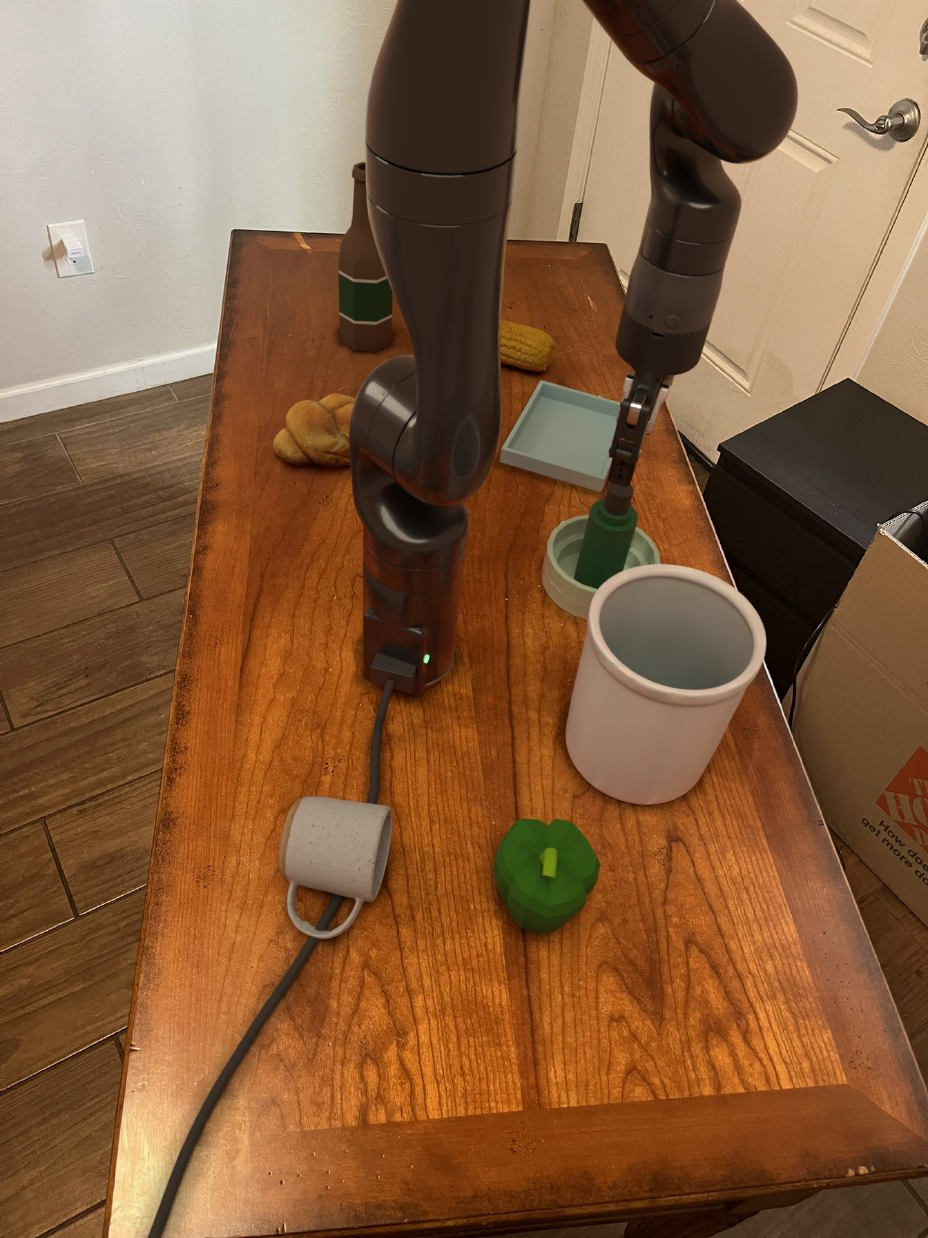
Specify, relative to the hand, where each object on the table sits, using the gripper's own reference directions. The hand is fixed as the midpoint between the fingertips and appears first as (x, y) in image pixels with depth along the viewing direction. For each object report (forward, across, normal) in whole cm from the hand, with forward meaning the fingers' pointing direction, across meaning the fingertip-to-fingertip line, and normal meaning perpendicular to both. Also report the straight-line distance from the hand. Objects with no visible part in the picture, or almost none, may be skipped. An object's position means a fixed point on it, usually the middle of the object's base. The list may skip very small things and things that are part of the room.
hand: (629, 456), depth 91 cm
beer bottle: (+18, -33, -43) cm, 57 cm away
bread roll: (+18, -8, -37) cm, 42 cm away
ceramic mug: (+18, +43, -11) cm, 48 cm away
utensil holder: (+18, +19, +9) cm, 28 cm away
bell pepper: (+18, +38, +5) cm, 43 cm away
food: (+18, -37, -27) cm, 49 cm away
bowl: (+18, 0, 0) cm, 18 cm away
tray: (+18, -23, -10) cm, 31 cm away
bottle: (+18, 0, 0) cm, 18 cm away
